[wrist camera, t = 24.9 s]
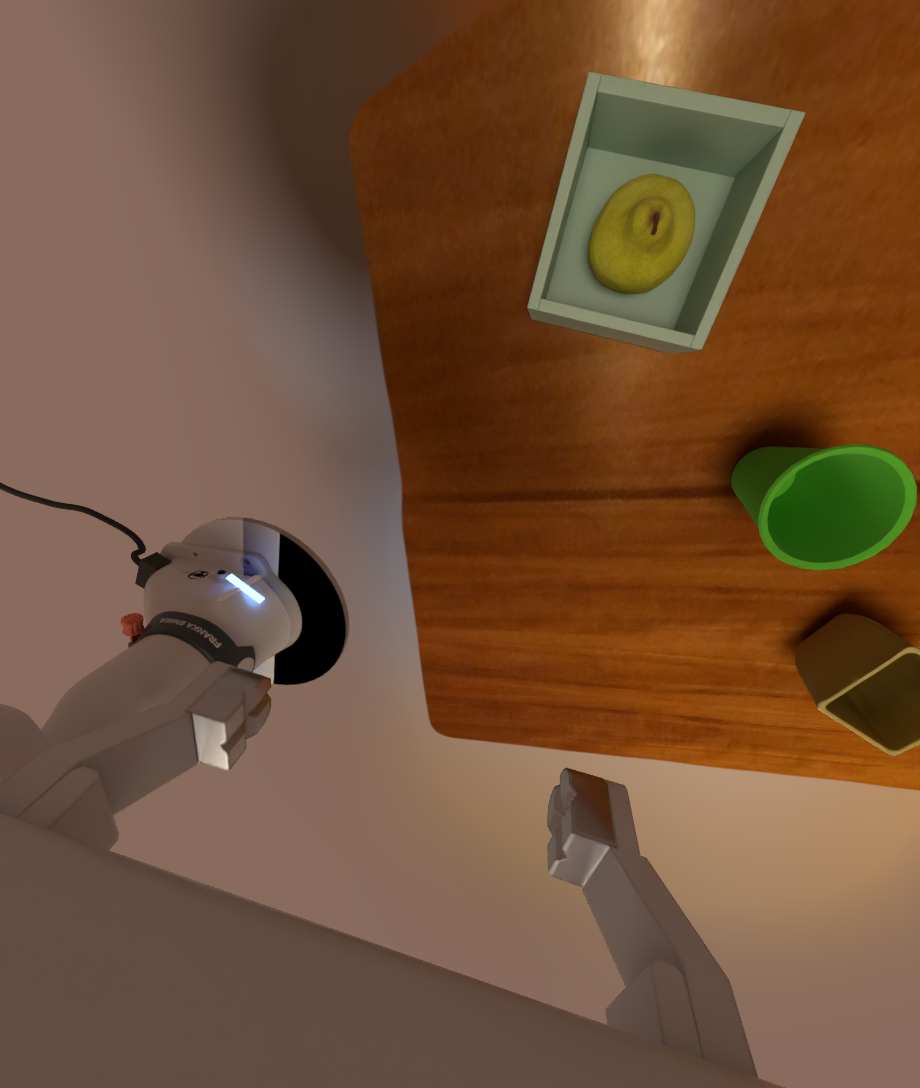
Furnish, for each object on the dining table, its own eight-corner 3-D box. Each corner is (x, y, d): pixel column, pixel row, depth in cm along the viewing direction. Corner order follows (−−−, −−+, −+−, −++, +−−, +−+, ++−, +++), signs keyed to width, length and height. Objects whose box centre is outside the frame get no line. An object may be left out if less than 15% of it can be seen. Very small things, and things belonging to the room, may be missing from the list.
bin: (531, 319, 37) (527, 307, 30) (580, 137, 32) (588, 70, 24) (671, 353, 36) (701, 350, 29) (746, 171, 30) (806, 111, 23)
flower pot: (832, 688, 45) (894, 759, 37) (767, 646, 44) (815, 709, 36) (910, 635, 41) (1000, 701, 33) (840, 589, 41) (913, 644, 32)
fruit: (619, 179, 31) (656, 80, 21) (697, 224, 32) (775, 148, 21) (569, 276, 34) (579, 234, 24) (641, 316, 34) (683, 292, 24)
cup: (714, 530, 41) (766, 583, 31) (700, 442, 38) (753, 468, 28) (821, 506, 38) (918, 555, 28) (815, 409, 35) (919, 425, 25)
